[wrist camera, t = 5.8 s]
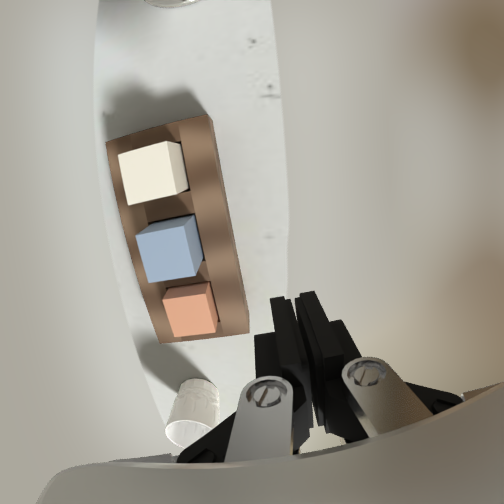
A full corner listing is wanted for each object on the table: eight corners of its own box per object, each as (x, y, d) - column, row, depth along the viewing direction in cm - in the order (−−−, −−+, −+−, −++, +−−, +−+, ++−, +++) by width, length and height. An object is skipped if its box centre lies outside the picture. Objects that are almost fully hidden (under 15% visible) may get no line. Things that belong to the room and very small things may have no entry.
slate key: (153, 222, 33) (135, 235, 27) (194, 214, 33) (183, 225, 27) (163, 263, 34) (148, 282, 29) (203, 256, 34) (195, 275, 29)
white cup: (215, 411, 47) (210, 454, 38) (172, 399, 46) (161, 441, 37) (228, 383, 45) (225, 429, 36) (181, 369, 44) (169, 413, 35)
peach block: (174, 279, 37) (162, 299, 32) (211, 273, 37) (205, 293, 32) (183, 312, 39) (174, 337, 33) (219, 307, 39) (215, 332, 33)
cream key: (139, 154, 31) (117, 154, 25) (180, 144, 30) (166, 141, 25) (147, 197, 32) (128, 205, 26) (189, 187, 32) (176, 194, 26)
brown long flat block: (122, 143, 34) (105, 142, 29) (212, 120, 33) (206, 114, 29) (168, 324, 42) (159, 343, 37) (249, 313, 41) (249, 333, 36)
